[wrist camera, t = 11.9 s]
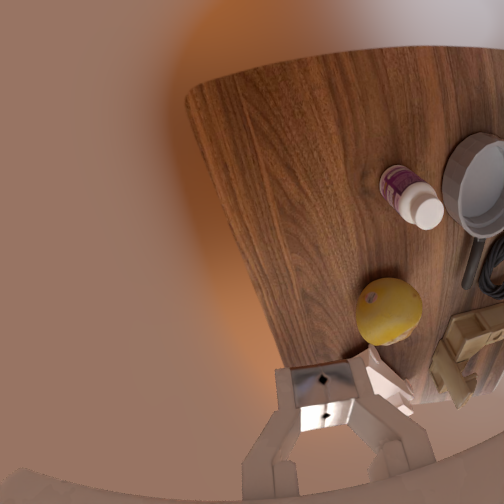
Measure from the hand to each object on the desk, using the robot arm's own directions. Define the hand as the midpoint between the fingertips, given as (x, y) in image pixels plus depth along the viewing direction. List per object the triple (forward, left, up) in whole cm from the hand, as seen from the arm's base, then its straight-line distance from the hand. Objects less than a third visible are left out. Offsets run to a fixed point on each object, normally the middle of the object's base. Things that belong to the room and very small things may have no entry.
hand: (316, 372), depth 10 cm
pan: (+6, +33, -31) cm, 46 cm away
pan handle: (+19, +33, -28) cm, 47 cm away
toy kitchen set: (+44, +43, -31) cm, 69 cm away
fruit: (+25, +17, -31) cm, 43 cm away
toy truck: (+48, +21, -31) cm, 61 cm away
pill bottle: (+6, +18, -31) cm, 36 cm away
